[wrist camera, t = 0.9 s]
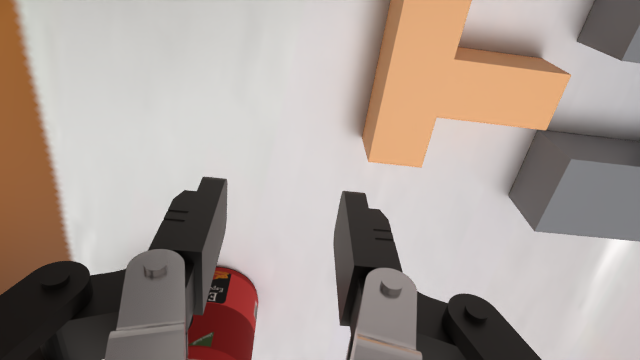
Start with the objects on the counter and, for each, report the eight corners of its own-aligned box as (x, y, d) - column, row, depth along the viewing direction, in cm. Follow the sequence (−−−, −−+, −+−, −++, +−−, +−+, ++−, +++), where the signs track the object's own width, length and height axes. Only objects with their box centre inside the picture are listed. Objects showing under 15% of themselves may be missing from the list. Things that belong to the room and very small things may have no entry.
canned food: (225, 252, 40) (200, 354, 30) (275, 301, 43) (266, 405, 34) (165, 285, 42) (124, 390, 32) (218, 329, 45) (194, 434, 36)
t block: (395, -26, 28) (408, -19, 24) (565, 0, 29) (600, 10, 25) (362, 137, 34) (368, 161, 30) (502, 153, 35) (524, 178, 31)
